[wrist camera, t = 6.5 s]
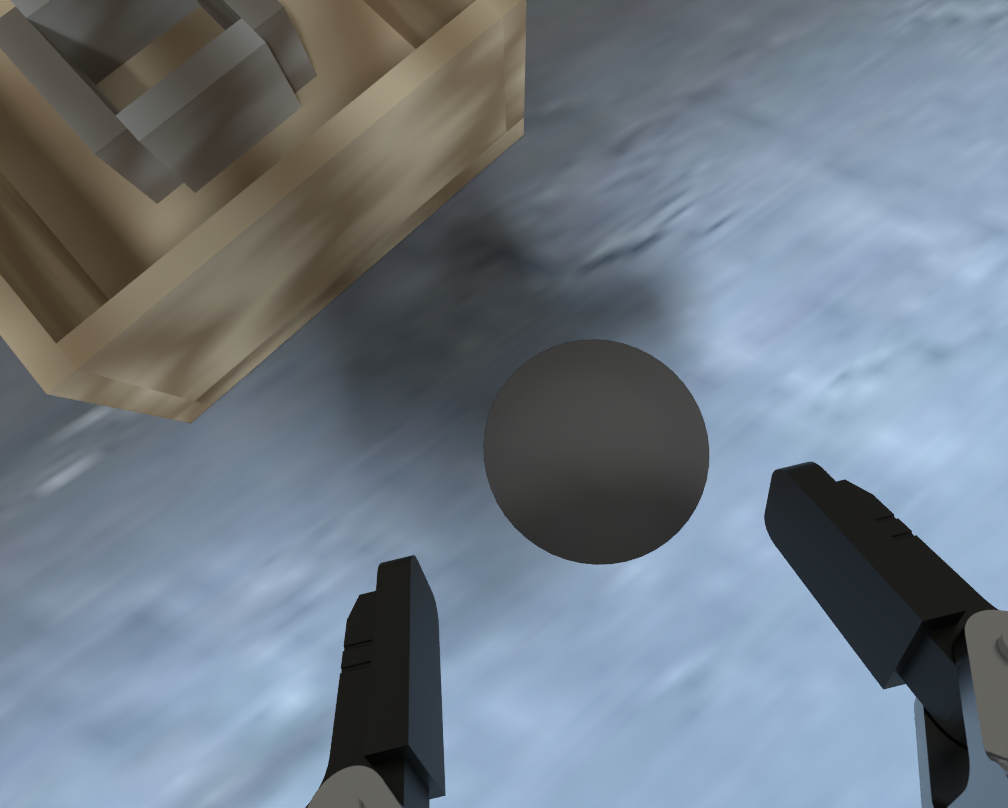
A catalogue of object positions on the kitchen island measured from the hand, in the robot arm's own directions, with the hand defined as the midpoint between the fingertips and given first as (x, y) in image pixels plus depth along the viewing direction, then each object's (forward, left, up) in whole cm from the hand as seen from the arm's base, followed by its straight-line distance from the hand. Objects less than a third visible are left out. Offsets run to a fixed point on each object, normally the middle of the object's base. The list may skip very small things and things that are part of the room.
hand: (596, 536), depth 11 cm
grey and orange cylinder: (+1, +2, -7) cm, 8 cm away
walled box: (+1, +24, -7) cm, 25 cm away
